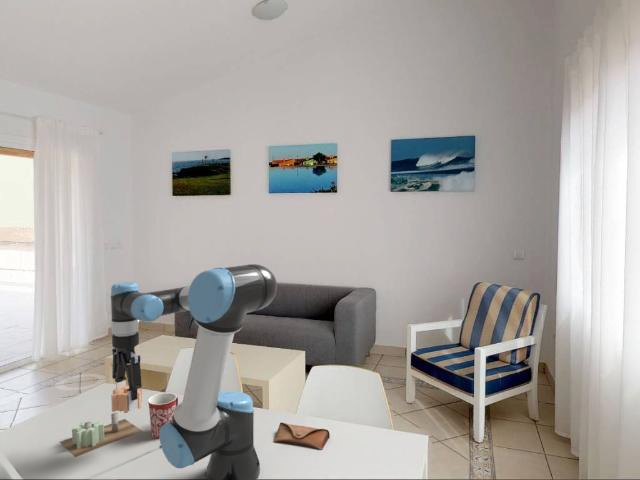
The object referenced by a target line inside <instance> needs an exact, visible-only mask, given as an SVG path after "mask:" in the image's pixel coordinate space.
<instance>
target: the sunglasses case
mask: <svg viewBox="0 0 640 480" xmlns="http://www.w3.org/2000/svg"><path fill="white" fill-rule="evenodd" d="M330 435H331V434H330V431H329V430H328V429H326V428H315V427H310V426H305V425H297V424H289V423H285V422H279V425H278V428H277V431H276V434H275V436H274V438H273V441H272V443H275V444H285V445H292V446H299V447H305V448H311V449H315V450H319V451H323V450H324V447H325V446H326V444H327V442H328V441H329V439H330Z"/></svg>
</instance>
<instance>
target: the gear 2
mask: <svg viewBox="0 0 640 480" xmlns="http://www.w3.org/2000/svg"><path fill="white" fill-rule="evenodd" d="M127 389H129V385H128V384H127V385H126V387H125V388H121V389H115V388H114V389H113V390H112V394H111V412H112V413H116V412H117V411H118V412H120V413H121V412H123V413H124V414H127V413H129V411H128V391H127ZM142 390H143V389H142V387H141V388H138V409H140V408H142V403H143V395H142V394H143V393H142V392H143V391H142Z"/></svg>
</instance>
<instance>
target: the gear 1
mask: <svg viewBox="0 0 640 480" xmlns="http://www.w3.org/2000/svg"><path fill="white" fill-rule="evenodd" d="M86 422H87V421H81V422H80V424H78V426H76V427H75V426H74V427H72V429H71V436H72V437H71V438H72V444H77V449H80V448H82V447H83V446H85V447H87V446H90V445H91V446H92V447H94V446H96V443H98V441H99V440H104V426H105V424H104V423H100V419H95V420H94V421H92V420H91V421H90V420H89V422H91V423H92V427H91V428H89V429H85V426H84V424H85V423H86Z"/></svg>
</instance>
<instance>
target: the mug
mask: <svg viewBox="0 0 640 480" xmlns="http://www.w3.org/2000/svg"><path fill="white" fill-rule="evenodd" d="M147 402H148V410H149V422H150V431H151V432H150V434H151V437H152V438H154V439H159V440H160V438H159V432H160V429H161V427H162V426H163V425H165V423H167V422H168V423H169V422H171V421H172V419H173V414H174V410H175V408H176V407H177V405H178V404H179V398H178V395H177V394H175V393H172V392H160V393H157V394H154V395H152V396H150V397H149V398H148V399H147Z"/></svg>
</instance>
